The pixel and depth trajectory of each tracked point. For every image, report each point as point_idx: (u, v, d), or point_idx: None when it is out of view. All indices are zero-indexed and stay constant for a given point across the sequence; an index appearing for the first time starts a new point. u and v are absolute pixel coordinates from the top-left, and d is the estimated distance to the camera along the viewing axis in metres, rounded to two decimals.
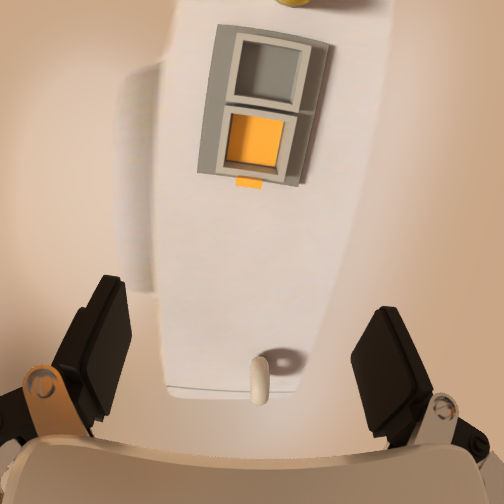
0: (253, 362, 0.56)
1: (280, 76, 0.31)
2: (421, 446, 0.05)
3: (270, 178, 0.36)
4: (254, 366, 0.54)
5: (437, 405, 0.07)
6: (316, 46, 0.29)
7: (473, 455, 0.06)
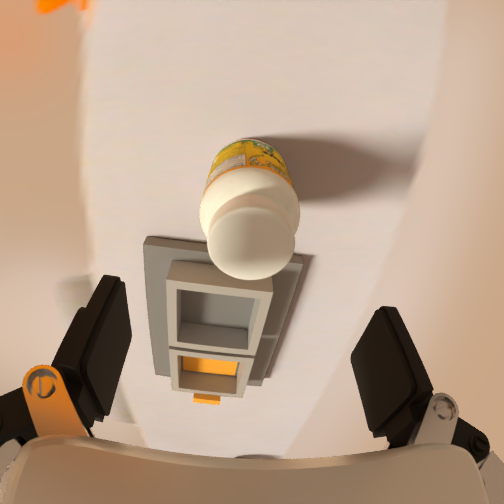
0: None
1: (235, 305, 0.27)
2: (422, 446, 0.05)
3: (228, 395, 0.32)
4: None
5: (437, 405, 0.07)
6: (284, 269, 0.25)
7: (473, 455, 0.06)
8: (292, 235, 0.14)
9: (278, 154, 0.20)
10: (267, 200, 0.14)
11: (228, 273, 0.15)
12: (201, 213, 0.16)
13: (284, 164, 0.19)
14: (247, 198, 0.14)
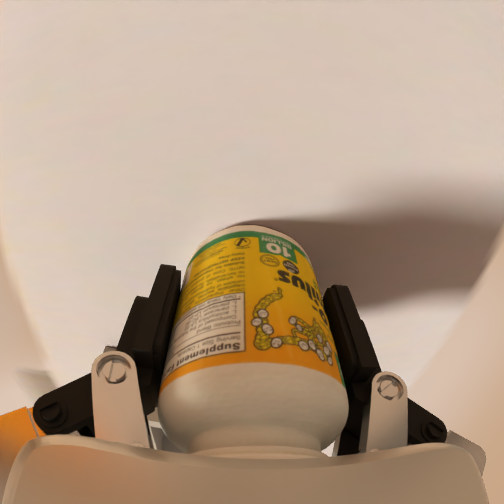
0: None
1: None
2: (422, 446, 0.05)
3: None
4: None
5: (381, 386, 0.08)
6: None
7: (425, 441, 0.06)
8: None
9: (304, 258, 0.11)
10: None
11: None
12: (160, 424, 0.07)
13: (315, 281, 0.11)
14: None
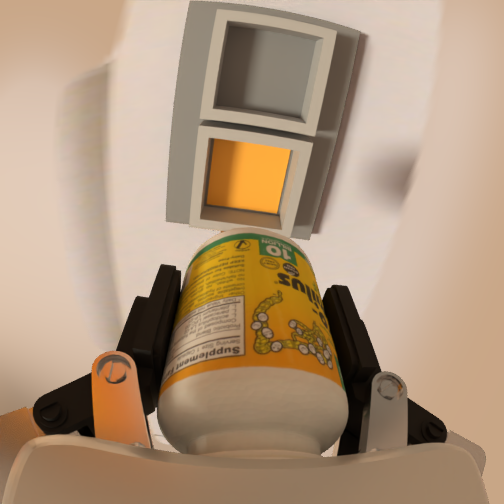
0: None
1: (287, 77, 0.20)
2: (421, 446, 0.05)
3: None
4: None
5: (381, 386, 0.08)
6: (341, 33, 0.18)
7: (425, 441, 0.06)
8: None
9: (304, 261, 0.11)
10: None
11: None
12: (160, 427, 0.07)
13: (315, 284, 0.11)
14: None
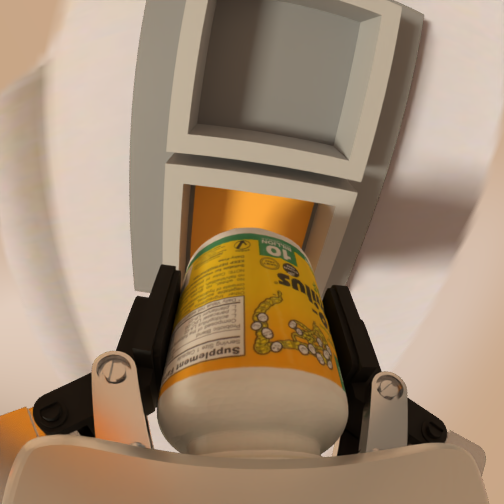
0: None
1: (314, 78, 0.12)
2: (421, 446, 0.05)
3: None
4: None
5: (381, 386, 0.08)
6: None
7: (425, 441, 0.06)
8: None
9: (304, 261, 0.11)
10: None
11: None
12: (160, 428, 0.07)
13: (315, 284, 0.11)
14: None
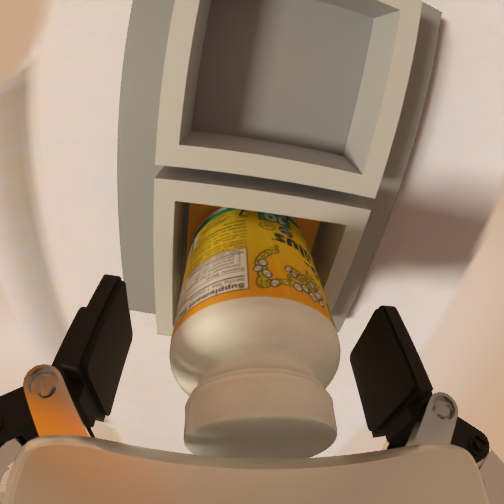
0: None
1: (322, 80, 0.11)
2: (422, 446, 0.05)
3: None
4: None
5: (436, 405, 0.07)
6: None
7: (472, 455, 0.06)
8: (334, 434, 0.06)
9: (297, 228, 0.13)
10: (293, 381, 0.07)
11: None
12: (172, 366, 0.08)
13: (307, 247, 0.12)
14: (254, 382, 0.06)
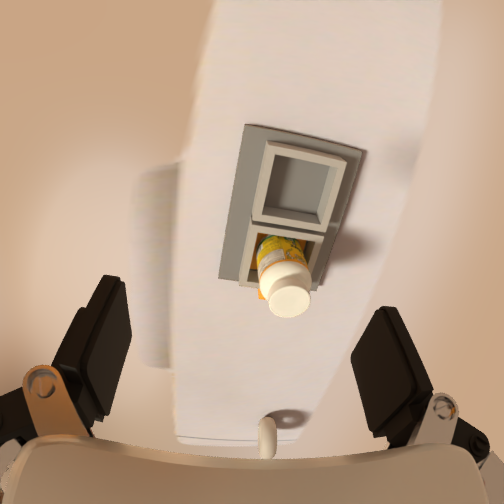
0: (262, 423, 0.56)
1: (309, 188, 0.33)
2: (422, 446, 0.05)
3: None
4: (263, 428, 0.54)
5: (437, 405, 0.07)
6: (349, 155, 0.31)
7: (473, 455, 0.06)
8: (309, 297, 0.28)
9: (297, 242, 0.35)
10: (298, 280, 0.29)
11: (277, 314, 0.29)
12: (261, 283, 0.30)
13: (301, 249, 0.34)
14: (289, 280, 0.28)
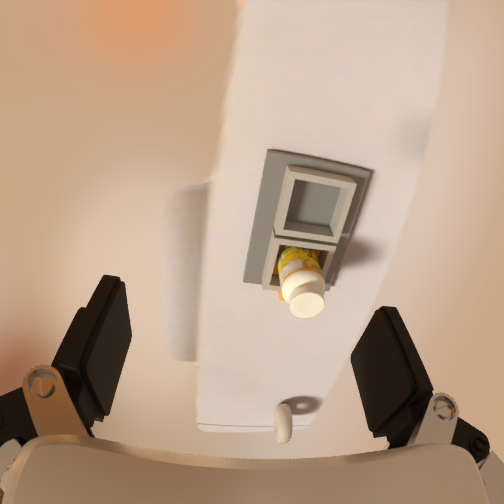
0: (278, 409, 0.62)
1: (323, 204, 0.38)
2: (421, 447, 0.05)
3: None
4: (279, 413, 0.61)
5: (437, 405, 0.07)
6: (358, 175, 0.36)
7: (473, 455, 0.06)
8: (323, 301, 0.34)
9: (313, 251, 0.40)
10: (314, 287, 0.34)
11: (296, 315, 0.35)
12: (283, 289, 0.36)
13: (316, 257, 0.40)
14: (306, 287, 0.34)
